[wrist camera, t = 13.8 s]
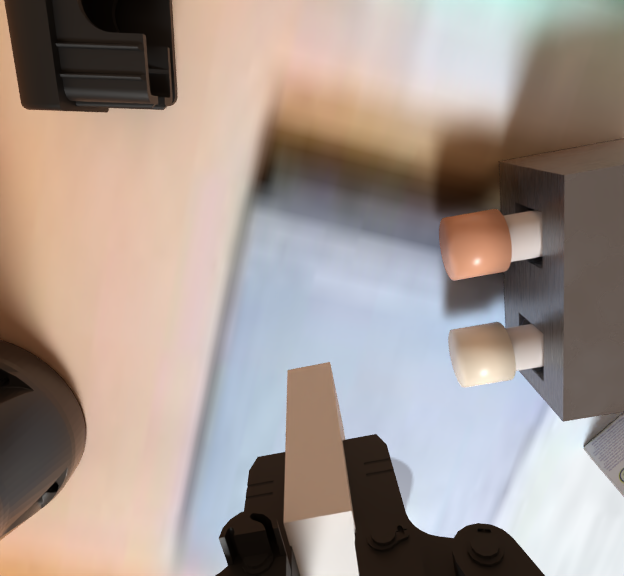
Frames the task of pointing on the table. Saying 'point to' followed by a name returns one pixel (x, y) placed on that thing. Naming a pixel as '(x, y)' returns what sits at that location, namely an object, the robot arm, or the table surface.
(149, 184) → the table surface
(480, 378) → the knob
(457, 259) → the knob
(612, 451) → the medicine box
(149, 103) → the end cap
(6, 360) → the robot arm
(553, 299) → the grey peg holder block
